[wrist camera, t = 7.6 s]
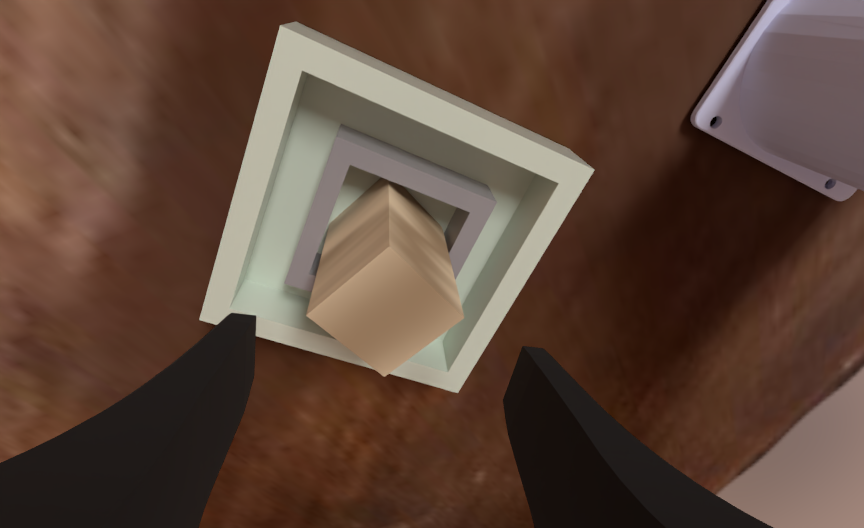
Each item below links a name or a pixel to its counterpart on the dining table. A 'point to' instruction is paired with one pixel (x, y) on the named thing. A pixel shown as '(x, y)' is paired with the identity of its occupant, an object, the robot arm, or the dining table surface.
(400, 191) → the tan wooden block
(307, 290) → the square tray
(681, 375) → the dining table surface
